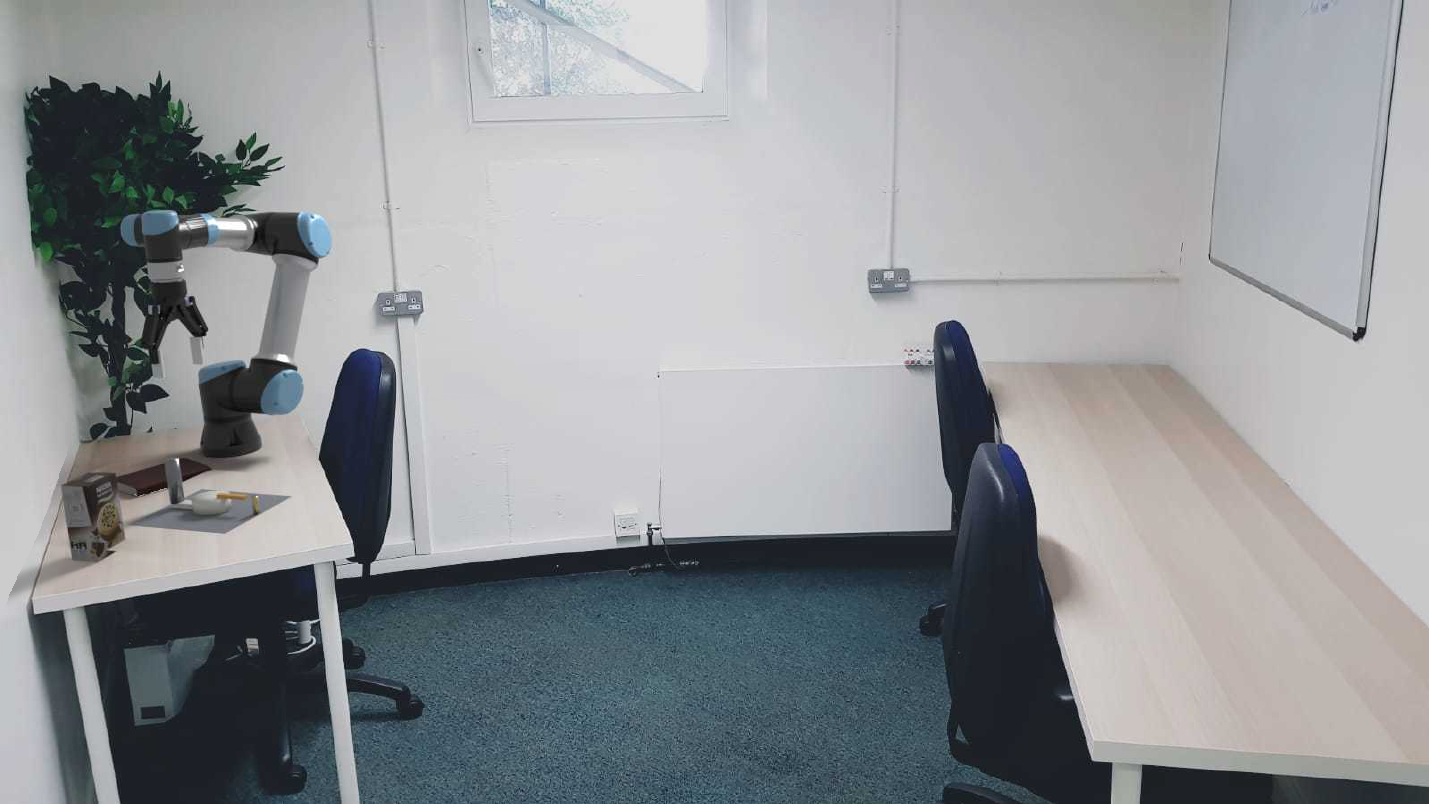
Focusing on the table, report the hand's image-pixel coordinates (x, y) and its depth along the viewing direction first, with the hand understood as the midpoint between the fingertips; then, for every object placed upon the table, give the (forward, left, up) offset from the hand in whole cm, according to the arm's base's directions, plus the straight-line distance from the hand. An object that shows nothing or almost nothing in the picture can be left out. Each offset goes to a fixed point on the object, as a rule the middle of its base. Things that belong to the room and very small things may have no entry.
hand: (179, 370), depth 279 cm
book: (-2, -12, -29) cm, 32 cm away
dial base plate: (+16, +17, -29) cm, 37 cm away
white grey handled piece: (+16, +17, -27) cm, 36 cm away
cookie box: (+40, +8, -29) cm, 50 cm away
